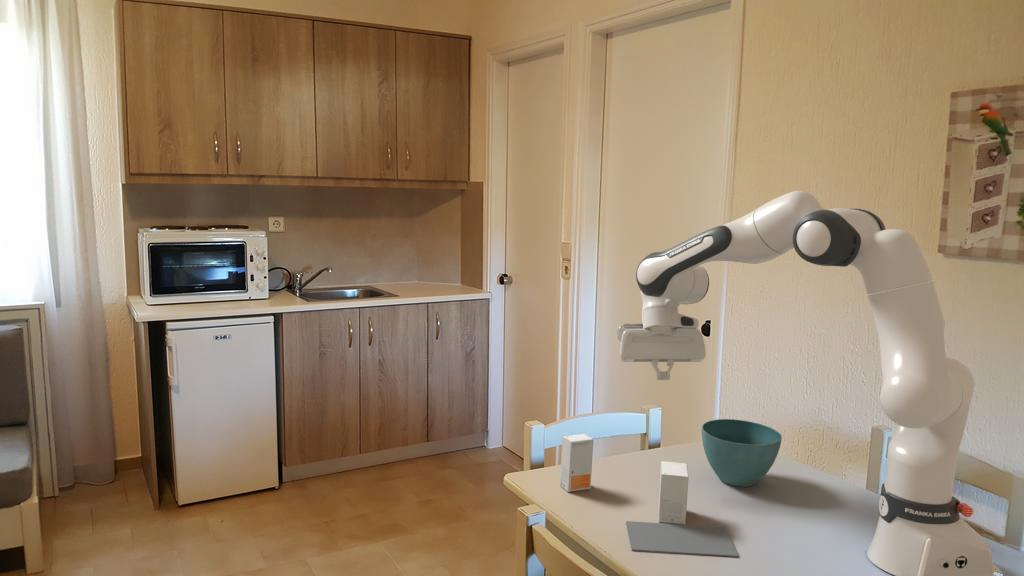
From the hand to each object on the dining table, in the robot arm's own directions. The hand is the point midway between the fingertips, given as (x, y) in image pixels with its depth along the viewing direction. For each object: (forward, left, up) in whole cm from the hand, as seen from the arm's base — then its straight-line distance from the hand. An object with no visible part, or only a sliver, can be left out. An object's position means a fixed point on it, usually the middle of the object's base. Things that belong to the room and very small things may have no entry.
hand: (663, 379), depth 174 cm
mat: (0, +32, -24) cm, 40 cm away
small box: (0, +22, -24) cm, 33 cm away
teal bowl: (-19, 0, -24) cm, 31 cm away
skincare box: (+20, +10, -24) cm, 33 cm away
